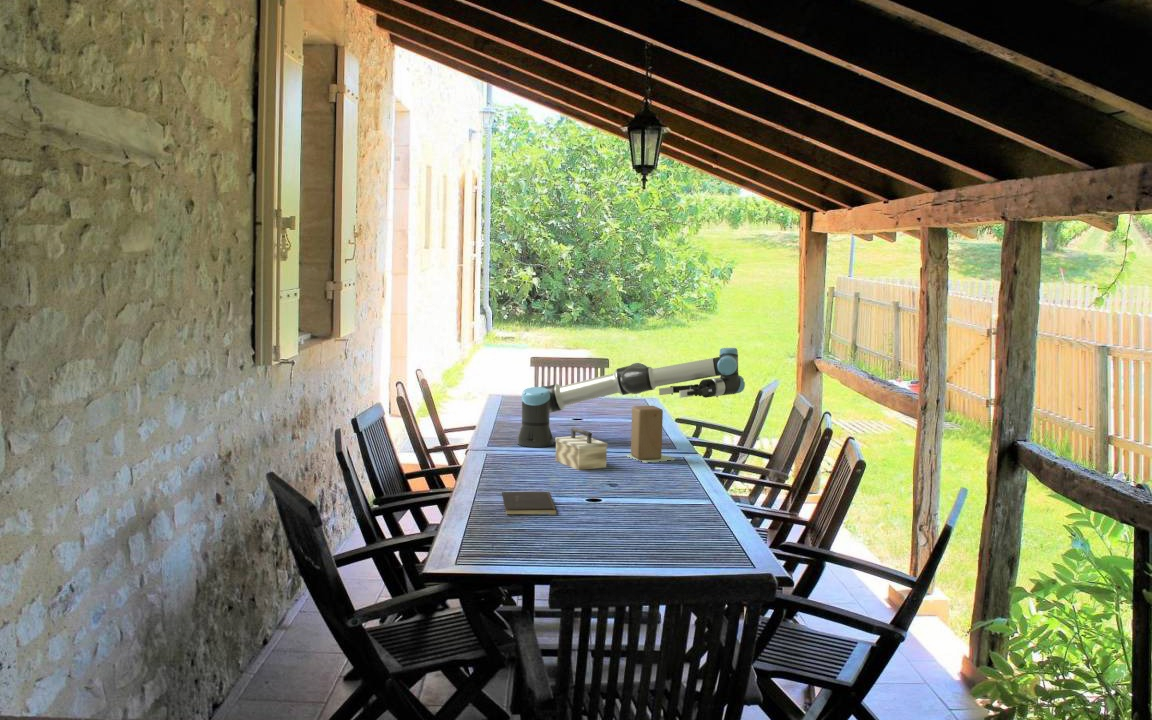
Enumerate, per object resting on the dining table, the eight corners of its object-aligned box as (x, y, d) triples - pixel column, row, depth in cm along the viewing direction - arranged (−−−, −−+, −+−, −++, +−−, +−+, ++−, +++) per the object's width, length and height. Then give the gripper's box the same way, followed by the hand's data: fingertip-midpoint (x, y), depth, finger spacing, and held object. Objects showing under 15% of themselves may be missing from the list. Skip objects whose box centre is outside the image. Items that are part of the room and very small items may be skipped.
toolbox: (554, 460, 391) (555, 426, 390) (583, 458, 398) (584, 424, 396) (578, 470, 376) (579, 434, 374) (608, 467, 382) (609, 432, 381)
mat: (626, 456, 403) (626, 455, 403) (654, 453, 410) (654, 452, 410) (645, 463, 391) (645, 461, 391) (675, 460, 398) (675, 458, 398)
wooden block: (662, 459, 396) (663, 409, 394) (638, 460, 393) (639, 409, 391) (653, 454, 405) (654, 405, 403) (629, 455, 402) (631, 405, 400)
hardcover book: (505, 516, 309) (505, 509, 309) (501, 498, 332) (501, 491, 332) (557, 516, 311) (557, 509, 311) (549, 498, 334) (550, 491, 334)
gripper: (731, 399, 405) (688, 404, 394) (693, 394, 426) (652, 399, 416) (730, 380, 404) (688, 385, 394) (692, 376, 426) (651, 381, 415)
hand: (669, 393), depth 405 cm, fingers open, 13 cm apart
